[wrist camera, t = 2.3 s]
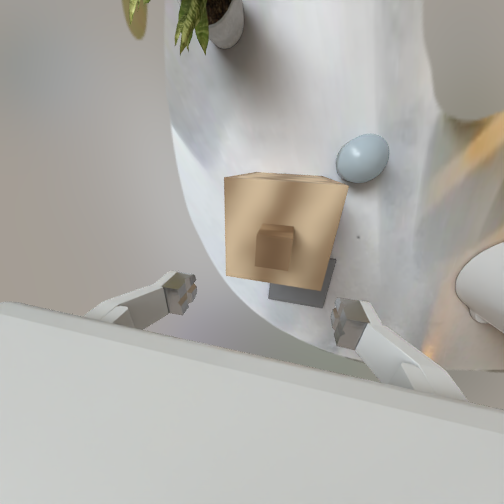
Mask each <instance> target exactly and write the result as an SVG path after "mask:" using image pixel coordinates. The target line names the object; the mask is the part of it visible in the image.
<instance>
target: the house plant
mask: <svg viewBox="0 0 504 504" xmlns="http://www.w3.org/2000/svg"><path fill="white" fill-rule="evenodd" d="M149 1H150V0H143V2H144V5H145V3H149ZM178 3H179V6H180V11H179V21H178V24H177V29H176V34H175V45H176V43H177V40H178V38H179V35H180V32H181V33H182V37H181V45H180V54H181V53H182V51H183V50H184V48H185V47H186V46H187V49H188V46H189V43H190V41H191V38H192V34H193V29H194V28H195V32H196V36H197V39H198V41H199V43H200V45H201V47H202V49H203V51H204V53H205V55H206V48H207V45H208V39H210V40H211V41H212V42H213V43H214V44H215V45H216V46H218V47H220V48H223V49H227V48H231V47H232V46H234V45H235V44H236V43H237V41H238V40H239V38H240V36H241V34H242V31H243V27H244V11H243V3H242V0H178ZM136 4H137V0H130V4H129V18H130V24H131V22H132V18H133V14H134V11H135V8H136ZM139 4H140V0H138V9H139ZM137 12H138V11H137ZM129 26H130V25H129ZM188 52H189V49H188Z"/></svg>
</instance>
